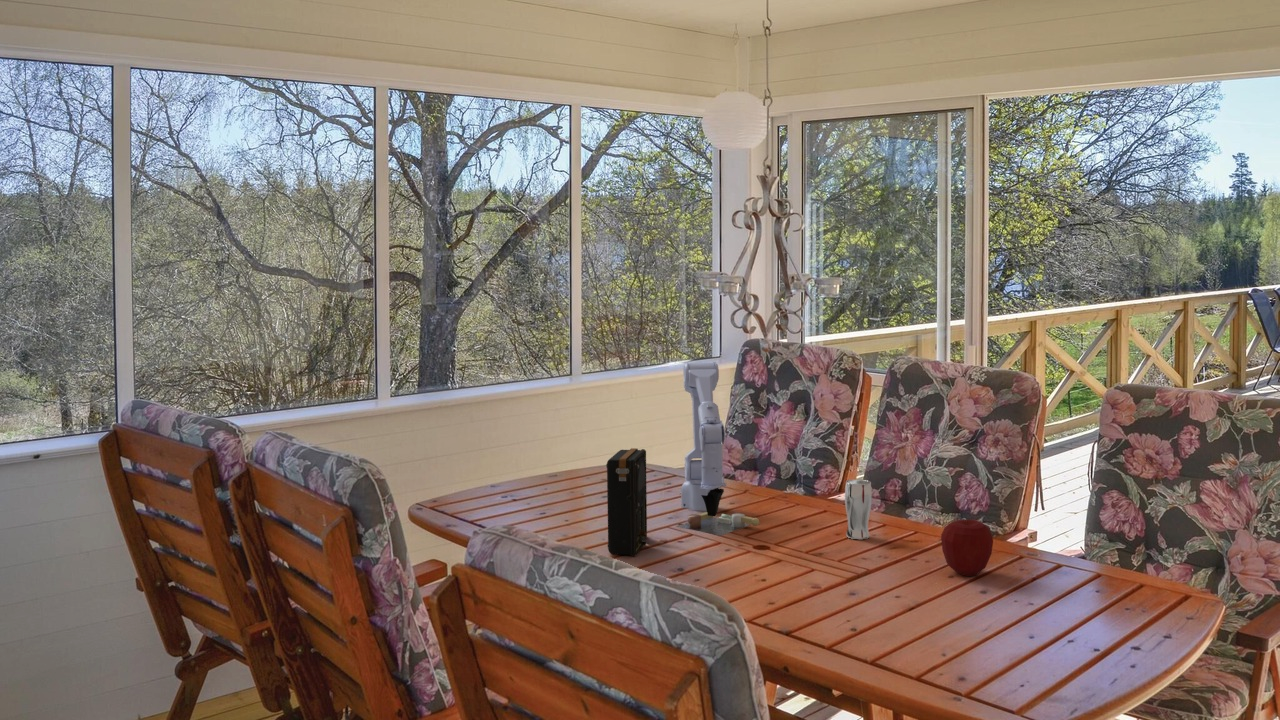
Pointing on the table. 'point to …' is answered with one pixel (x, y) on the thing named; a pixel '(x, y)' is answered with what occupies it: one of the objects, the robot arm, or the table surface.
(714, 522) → the levelling plate
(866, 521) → the beer glass
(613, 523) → the voltmeter
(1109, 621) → the table surface
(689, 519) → the beige knobbed bar
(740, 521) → the footscrew grey
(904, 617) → the table surface
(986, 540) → the apple
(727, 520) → the bubble vial
